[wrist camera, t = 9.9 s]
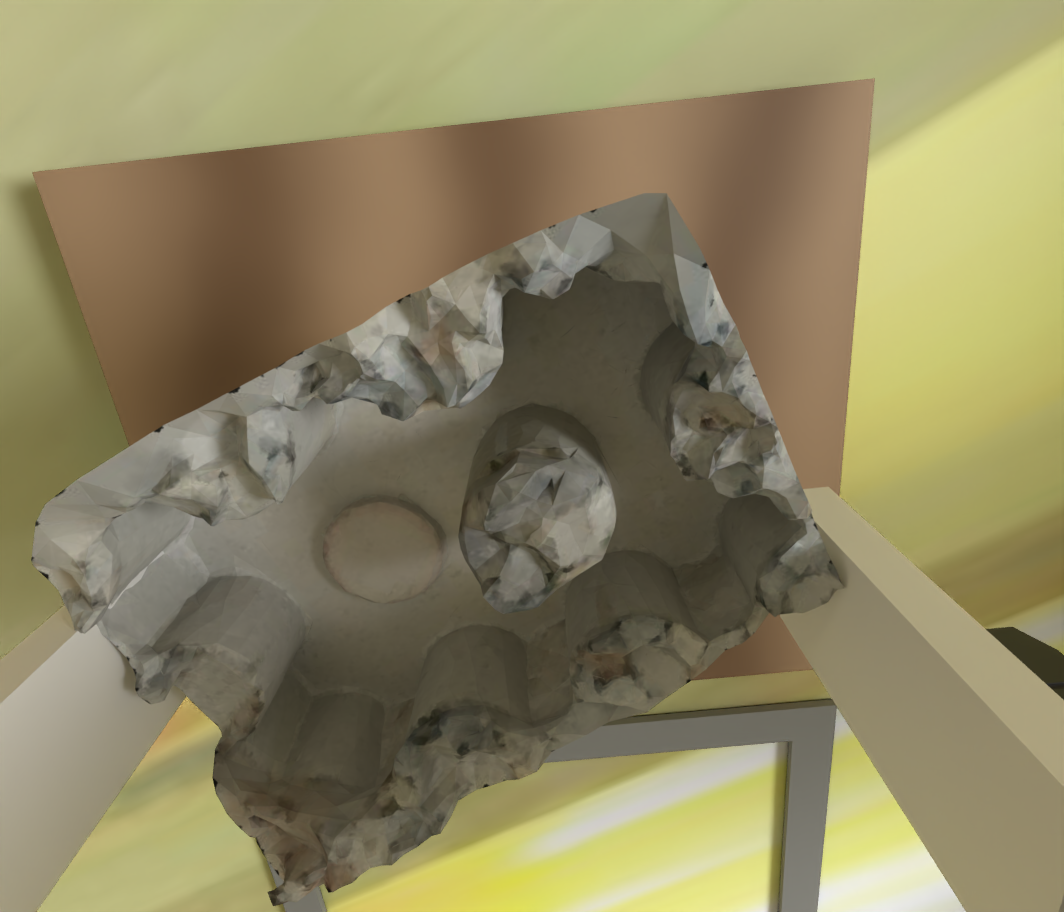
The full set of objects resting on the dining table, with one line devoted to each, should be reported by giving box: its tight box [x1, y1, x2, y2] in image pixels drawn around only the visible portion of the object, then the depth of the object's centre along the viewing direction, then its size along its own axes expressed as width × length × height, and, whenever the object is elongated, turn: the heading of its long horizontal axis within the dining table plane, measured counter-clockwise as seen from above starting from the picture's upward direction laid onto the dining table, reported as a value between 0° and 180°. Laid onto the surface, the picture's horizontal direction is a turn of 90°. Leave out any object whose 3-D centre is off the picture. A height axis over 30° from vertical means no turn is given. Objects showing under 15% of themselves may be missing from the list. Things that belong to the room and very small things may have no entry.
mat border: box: [267, 699, 837, 912], centre depth 26 cm, size 22×19×1 cm
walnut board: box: [32, 78, 875, 680], centre depth 18 cm, size 20×17×1 cm
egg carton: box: [31, 193, 844, 906], centre depth 10 cm, size 11×8×4 cm
